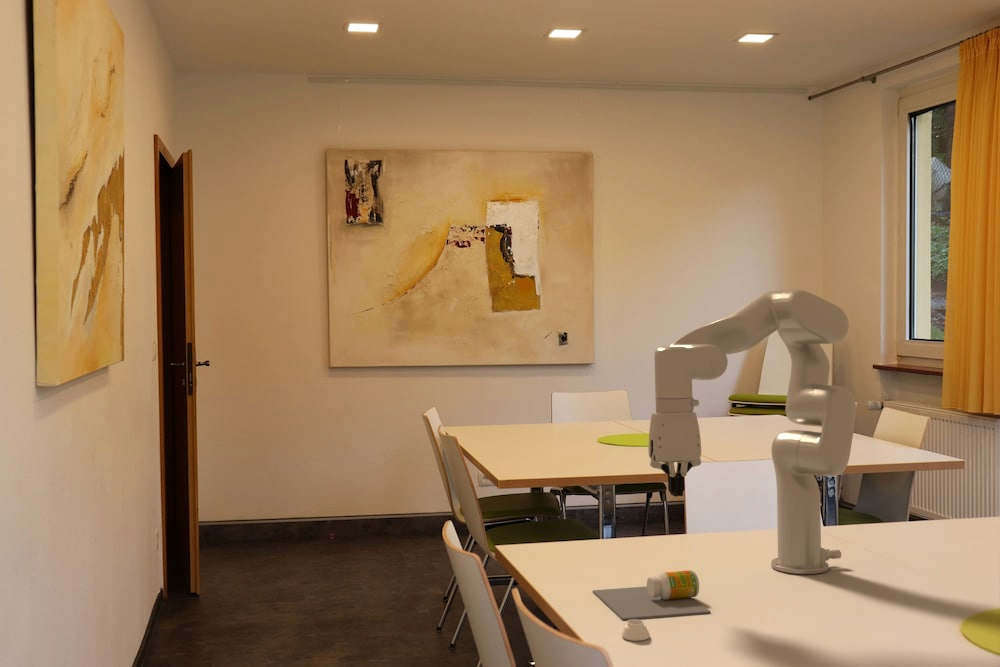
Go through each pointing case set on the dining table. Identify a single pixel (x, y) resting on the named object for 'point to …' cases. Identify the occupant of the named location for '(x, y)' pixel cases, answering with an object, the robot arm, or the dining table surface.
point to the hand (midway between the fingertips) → (676, 495)
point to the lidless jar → (635, 631)
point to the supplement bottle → (674, 585)
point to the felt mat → (646, 604)
